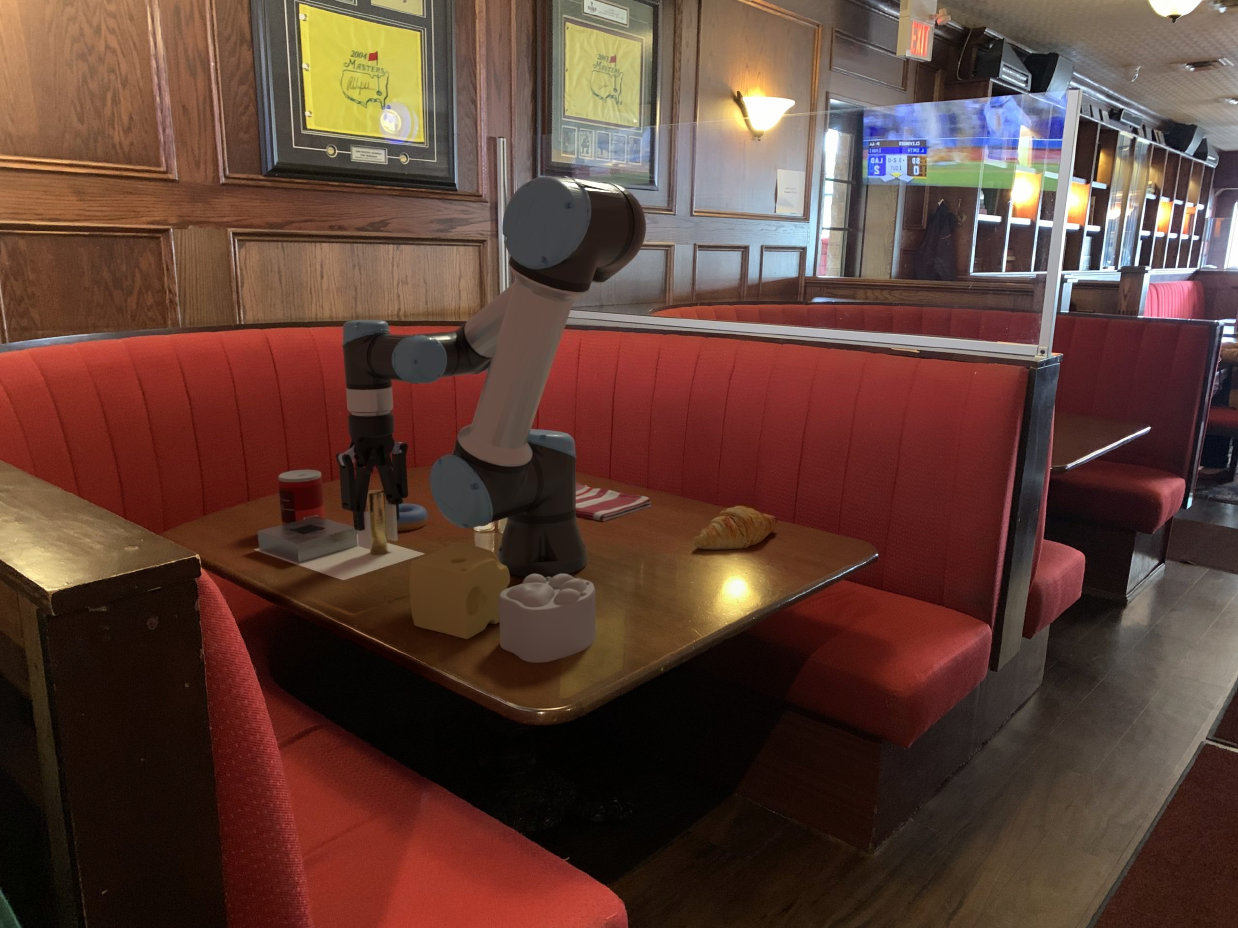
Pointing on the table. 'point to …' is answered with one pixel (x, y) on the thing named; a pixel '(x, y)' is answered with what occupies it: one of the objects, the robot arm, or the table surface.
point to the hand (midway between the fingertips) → (378, 542)
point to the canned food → (300, 495)
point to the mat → (355, 561)
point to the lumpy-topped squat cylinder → (547, 617)
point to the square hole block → (307, 539)
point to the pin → (377, 521)
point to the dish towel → (606, 503)
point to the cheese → (457, 589)
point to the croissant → (735, 529)
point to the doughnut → (411, 517)
